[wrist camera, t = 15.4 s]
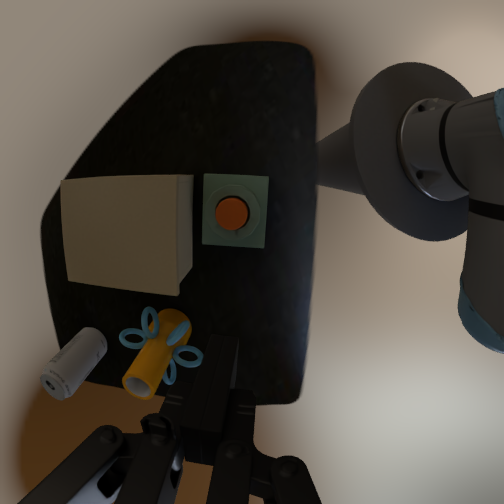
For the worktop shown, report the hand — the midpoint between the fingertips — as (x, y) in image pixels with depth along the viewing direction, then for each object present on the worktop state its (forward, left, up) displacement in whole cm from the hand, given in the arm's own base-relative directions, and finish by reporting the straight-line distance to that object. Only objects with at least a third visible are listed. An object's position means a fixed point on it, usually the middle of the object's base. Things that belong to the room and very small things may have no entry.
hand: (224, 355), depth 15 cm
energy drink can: (+27, +19, -24) cm, 41 cm away
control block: (+2, -5, -24) cm, 24 cm away
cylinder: (+11, +13, -24) cm, 29 cm away
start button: (+2, -5, -21) cm, 21 cm away
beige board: (+15, -3, -15) cm, 21 cm away
